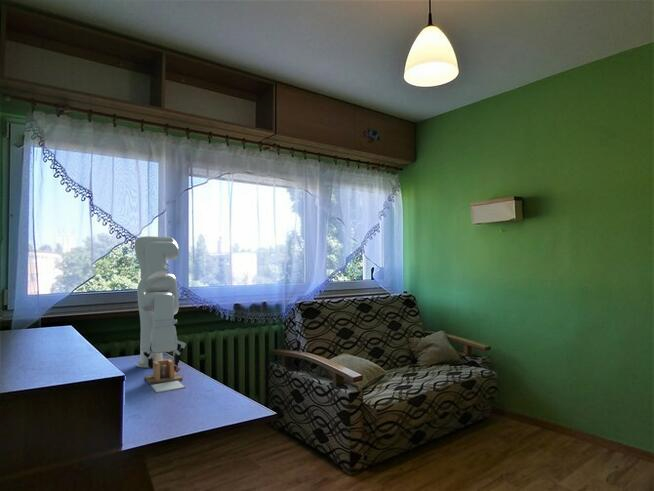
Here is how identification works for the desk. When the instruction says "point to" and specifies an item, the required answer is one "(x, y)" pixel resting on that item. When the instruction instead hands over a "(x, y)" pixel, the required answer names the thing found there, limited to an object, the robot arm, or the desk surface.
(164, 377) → the stand
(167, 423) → the desk surface
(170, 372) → the c link
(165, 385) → the pad
